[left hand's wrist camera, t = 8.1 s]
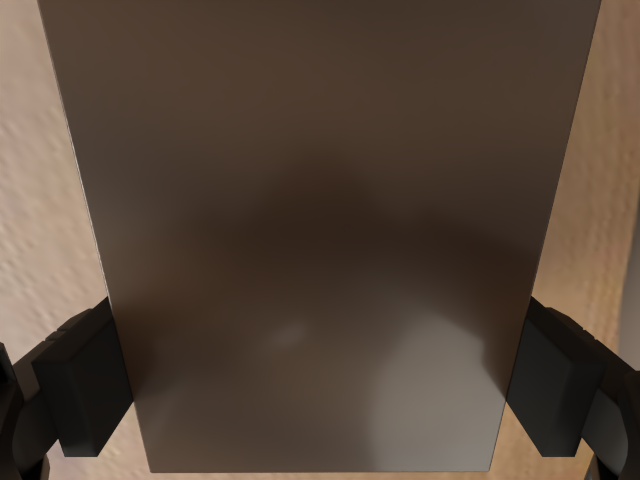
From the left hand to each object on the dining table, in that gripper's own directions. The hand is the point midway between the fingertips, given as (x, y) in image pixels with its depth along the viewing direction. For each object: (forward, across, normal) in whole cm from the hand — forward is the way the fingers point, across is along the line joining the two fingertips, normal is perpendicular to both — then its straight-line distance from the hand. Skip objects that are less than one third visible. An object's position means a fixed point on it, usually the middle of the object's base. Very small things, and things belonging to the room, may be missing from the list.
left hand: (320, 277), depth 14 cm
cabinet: (+4, 0, -4) cm, 6 cm away
